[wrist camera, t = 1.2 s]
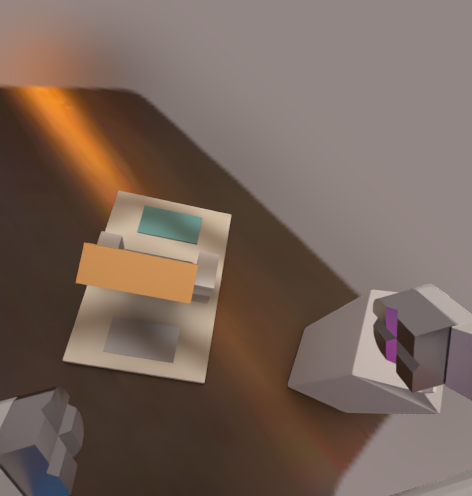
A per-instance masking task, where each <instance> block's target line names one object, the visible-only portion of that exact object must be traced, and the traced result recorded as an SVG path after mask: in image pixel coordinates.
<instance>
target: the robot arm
mask: <svg viewBox="0 0 472 496" xmlns="http://www.w3.org/2000/svg"><path fill="white" fill-rule="evenodd" d="M373 313H374V314H375V315H376V316H377V317H378V318H377V320H376V321H375V323H374V325H373V333H374V338H375V341H376V344H377V346H378V348H379V350H380V352H381V353H382V355H383V356H384V358H385V359H386V360H388V361H390V362H392V363H395V364H396V373H397V374H398V376H399V377H400V378H401V379H402V381H403V382H404V383H405V384H406V386H407V387H408V388H409V390H410V391H411V392H412V393H413V392H417V391H421V390H424V389H428V388H432V387H436V386H439V385H443V384H445V386H446V387H448V388H450V389H452V390H454V391H456V392H457V393H459V394H461V395H463V396H465V397H466V398H468V399H470V400H472V314H471V313H469V312H468V311H467V310H466V309H464V308H463V307H462V306H460V305H459V304H458V303H457V302H455V301H454V300H453V299H451V298H450V297H449V296H447V295H446V294H445V293H444V292H442V291H441V290H440V289H438V288H437V287H436V286H435V285H432V284H425V285H422V286H419V287H415V288H412V289H410V290H406V291H403V292H399V293H395V294H392V295H388V296H385V297H381V298H378V299H375V300H374V302H373ZM69 397H70V396H69V394H68V393H67V391H66V390H65V388H64V387H60V386H58V387H54V388H50V389H46V390H42V391H38V392H34V393H30V394H26V395H22V396H18V397H15V398H11V399H7V400H3V401H0V496H66V495H70V494H71V491H72V487H73V483H74V478H75V474H76V470H77V464H76V462H75V461H74V459H73V458H74V456H75V455H76V454H77V453H78V451H79V450H80V449H81V447H82V442H83V437H84V429H83V421H82V418H81V415H80V413H79V411H78V409H77V408H75V407H73V406H71V405H69V404H68V400H69ZM391 496H472V470H470V471H467V472H463V473H460V474H457V475H454V476H451V477H448V478H445V479H441V480H439V481H435V482H432V483H429V484H426V485H423V486H419V487H416V488H413V489H410V490H407V491H403V492H401V493H397V494H394V495H391Z"/></svg>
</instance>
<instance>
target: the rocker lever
mask: <svg viewBox="0 0 472 496" xmlns="http://www.w3.org/2000/svg"><path fill="white" fill-rule="evenodd" d="M197 269H198V264H194V263H193V262H189V261H184V260H179V259H174V258H169V257H164V256H159V255H154V254H149V253H144V252H139V251H134V250H128V249H125V250H123V249H118V248H113V247H108V246H102V245H97V244H92V243H84V247H83V251H82V256H81V261H80V265H79V270H78V275H77V279H76V283H80V284H85V285H90V286H96V287H101V288H107V289H112V290H118V291H123V292H129V293H134V294H140V295H145V296H151V297H156V298H161V299H167V300H172V301H178V302H183V303H189V304H191V299H192V294H193V289H194V284H195V279H196V274H197Z"/></svg>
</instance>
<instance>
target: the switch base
mask: <svg viewBox="0 0 472 496" xmlns="http://www.w3.org/2000/svg"><path fill="white" fill-rule="evenodd" d="M230 220H231V215H230V214H225V213H220V212H216V211H211V210H207V209H202V208H197V207H193V206H188V205H183V204H179V203H174V202H169V201H165V200H160V199H156V198H151V197H146V196H142V195H137V194H132V193H128V192H123V191H118V194H117V197H116V200H115V203H114V206H113V209H112V212H111V215H110V218H109V221H108V224H107V227H106V230H105V232H102V231H101V234H100V237H99V240H98V243H97V245H102V246H108V247H113V248H118V249H123V250H125V249H128V250H134V251H139V252H144V253H149V254H154V255H159V256H164V257H169V258H174V259H179V260H184V261H189V262H193V263H194V264H198V269H197V274H196V279H195V284H194V289H193V294H192V299H191V304H189V303H183V302H178V301H172V300H167V299H161V298H156V297H151V296H145V295H140V294H134V293H129V292H123V291H118V290H112V289H107V288H101V287H96V286H90V285H87V288H86V291H85V294H84V297H83V300H82V303H81V306H80V309H79V312H78V315H77V318H76V321H75V324H74V327H73V330H72V333H71V336H70V339H69V342H68V346H67V349H66V352H65V355H64V358H63V361H65V362H68V363H74V364H80V365H87V366H93V367H99V368H106V369H112V370H118V371H125V372H131V373H138V374H144V375H150V376H157V377H163V378H169V379H176V380H182V381H188V382H195V383H201V384H203V383H205V377H206V370H207V364H208V358H209V352H210V345H211V339H212V333H213V326H214V320H215V314H216V308H217V301H218V295H219V289H220V283H221V276H222V270H223V264H224V258H225V251H226V245H227V239H228V233H229V226H230Z"/></svg>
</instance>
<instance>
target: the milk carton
mask: <svg viewBox="0 0 472 496" xmlns="http://www.w3.org/2000/svg"><path fill="white" fill-rule="evenodd" d="M395 293H397V292H389V291H379V290H371V291H369V292H368V293H366V294H364V295H362V296H361V297H359V298H357V299H355V300H353V301H352V302H350V303H348V304H346V305H345V306H343V307H341V308H339V309H337V310H336V311H334V312H332V313H330V314H329V315H327V316H325V317H323V318H322V319H320V320H318V321H316V322H314V323H313V324H311V325H309V326H307V327H306V328H305V329H304V332H303V335H302V339H301V342H300V345H299V348H298V352H297V355H296V358H295V361H294V365H293V368H292V371H291V374H290V378H289V381H288V385H287V386H288V387H289V388H292V389H294V390H296V391H298V392H301V393H303V394H305V395H307V396H309V397H312V398H314V399H316V400H318V401H321V402H323V403H325V404H327V405H329V406H332V407H334V408H336V409H338V410H340V411H343V412H345V413H390V414H440V409H441V400H442V391H443V385H439V386H436V387H432V388H428V389H424V390H421V391H417V392H413V393H412V392H411V391H410V390H409V388H408V387H407V386H406V384H405V383H404V382H403V381H402V379H401V378H400V377H399V376H398V374H397V373H396V364H395V363H392V362H390V361H388V360H386V359H385V358H384V356H383V355H382V353H381V352H380V350H379V348H378V346H377V344H376V341H375V338H374V333H373V325H374V323H375V321H376V320H377V318H378V317H377V316H376V315H375V314H374V313H373V302H374V300H375V299H378V298H381V297H385V296H388V295H392V294H395ZM445 294H446V293H445ZM446 295H447V294H446ZM447 296H448V295H447Z"/></svg>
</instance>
